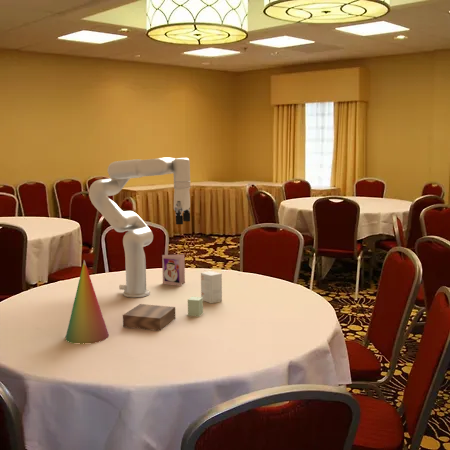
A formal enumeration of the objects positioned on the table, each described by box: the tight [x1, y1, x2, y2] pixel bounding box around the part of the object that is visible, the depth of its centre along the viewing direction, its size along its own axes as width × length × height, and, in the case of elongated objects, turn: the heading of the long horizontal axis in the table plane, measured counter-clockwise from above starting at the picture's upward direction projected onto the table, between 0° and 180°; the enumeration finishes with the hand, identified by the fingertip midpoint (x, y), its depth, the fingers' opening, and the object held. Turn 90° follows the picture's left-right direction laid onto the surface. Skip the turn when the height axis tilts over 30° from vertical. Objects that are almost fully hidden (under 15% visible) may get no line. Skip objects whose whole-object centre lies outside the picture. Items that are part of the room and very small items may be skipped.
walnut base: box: [122, 303, 176, 332], centre depth 237 cm, size 16×16×5 cm
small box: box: [200, 270, 223, 304], centre depth 268 cm, size 8×6×13 cm
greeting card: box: [161, 253, 186, 287], centre depth 300 cm, size 11×7×15 cm, turn 62°
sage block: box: [187, 296, 204, 317], centre depth 248 cm, size 5×5×7 cm
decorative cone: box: [65, 259, 110, 345], centre depth 219 cm, size 16×16×30 cm
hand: (183, 222), depth 266 cm, fingers open, 9 cm apart
